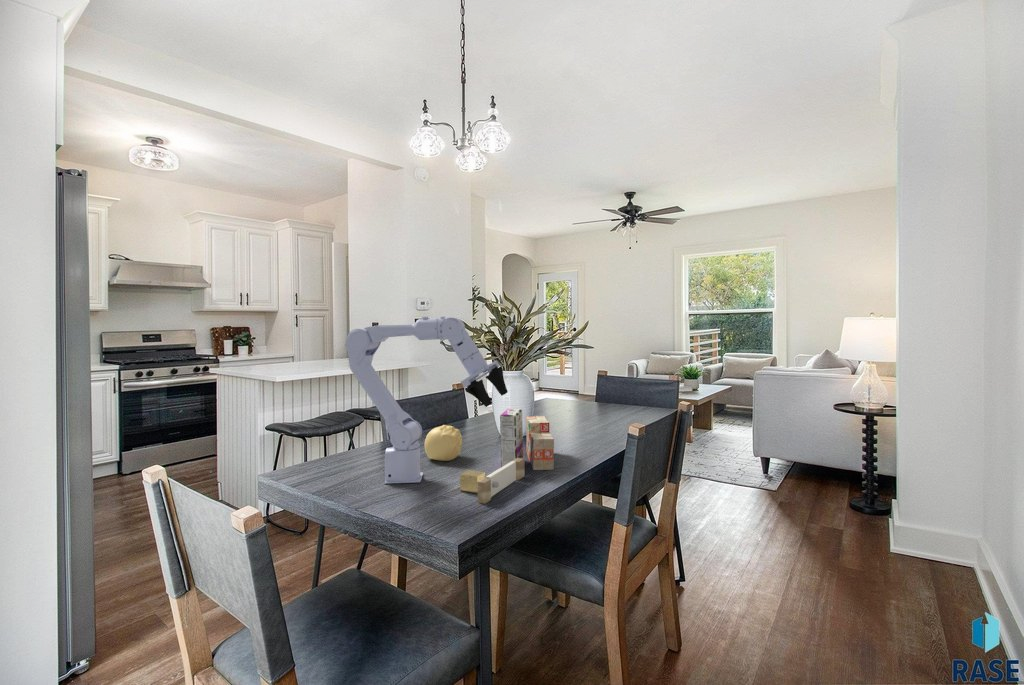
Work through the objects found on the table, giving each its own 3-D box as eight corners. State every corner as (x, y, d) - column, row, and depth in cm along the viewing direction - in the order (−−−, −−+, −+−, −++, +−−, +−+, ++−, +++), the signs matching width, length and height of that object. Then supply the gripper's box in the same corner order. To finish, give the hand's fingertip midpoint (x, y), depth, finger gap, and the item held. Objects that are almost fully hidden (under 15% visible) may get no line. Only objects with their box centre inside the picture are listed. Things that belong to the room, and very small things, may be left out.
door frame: (477, 502, 116) (477, 481, 116) (518, 475, 137) (517, 457, 137) (485, 503, 115) (484, 482, 115) (524, 476, 136) (524, 458, 136)
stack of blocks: (554, 470, 142) (554, 428, 142) (532, 470, 142) (532, 428, 141) (544, 451, 164) (544, 415, 163) (525, 452, 163) (525, 415, 163)
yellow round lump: (460, 463, 149) (459, 428, 149) (421, 463, 150) (420, 429, 149) (464, 454, 161) (464, 421, 160) (428, 454, 161) (428, 421, 161)
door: (485, 496, 119) (485, 476, 119) (511, 479, 133) (511, 461, 132) (493, 498, 118) (493, 477, 118) (519, 480, 132) (519, 462, 131)
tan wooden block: (460, 491, 124) (460, 474, 124) (468, 486, 128) (468, 469, 128) (477, 494, 122) (477, 476, 122) (485, 489, 126) (484, 472, 126)
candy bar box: (507, 460, 153) (507, 408, 152) (523, 460, 152) (523, 408, 152) (499, 470, 142) (499, 414, 142) (516, 471, 141) (516, 414, 141)
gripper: (462, 359, 123) (491, 405, 123) (495, 342, 135) (521, 383, 134) (446, 370, 128) (474, 414, 127) (479, 352, 139) (504, 393, 139)
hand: (497, 399), depth 131 cm, fingers open, 7 cm apart
